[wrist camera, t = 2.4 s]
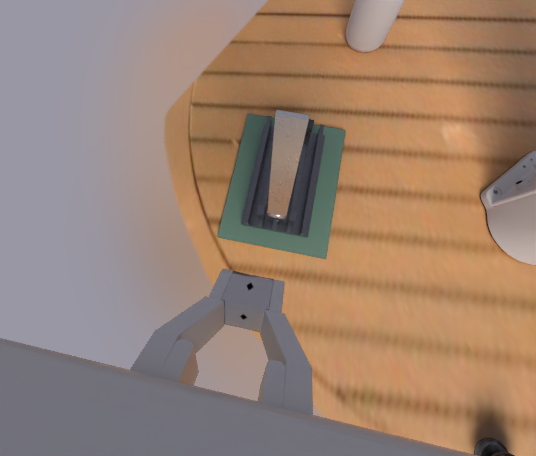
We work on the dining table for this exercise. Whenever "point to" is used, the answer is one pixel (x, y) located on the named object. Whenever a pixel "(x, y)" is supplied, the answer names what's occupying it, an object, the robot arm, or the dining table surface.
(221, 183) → the dining table surface
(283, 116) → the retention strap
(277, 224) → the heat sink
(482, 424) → the dining table surface
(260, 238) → the circuit board
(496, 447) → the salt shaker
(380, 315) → the dining table surface
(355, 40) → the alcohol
